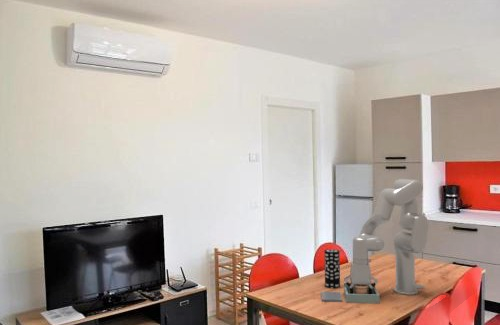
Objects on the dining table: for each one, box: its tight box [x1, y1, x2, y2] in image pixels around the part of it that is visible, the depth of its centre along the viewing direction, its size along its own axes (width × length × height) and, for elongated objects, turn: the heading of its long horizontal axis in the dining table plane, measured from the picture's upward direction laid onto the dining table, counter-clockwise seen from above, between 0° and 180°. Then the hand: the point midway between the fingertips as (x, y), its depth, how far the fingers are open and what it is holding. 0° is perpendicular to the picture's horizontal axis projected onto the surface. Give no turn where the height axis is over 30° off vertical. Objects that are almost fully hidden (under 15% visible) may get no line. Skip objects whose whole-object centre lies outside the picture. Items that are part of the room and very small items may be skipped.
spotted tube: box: [324, 248, 341, 290], centre depth 230 cm, size 8×8×20 cm
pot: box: [354, 284, 368, 294], centre depth 209 cm, size 7×7×7 cm
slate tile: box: [320, 291, 343, 303], centre depth 211 cm, size 10×12×1 cm
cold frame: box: [343, 282, 381, 304], centre depth 209 cm, size 16×13×6 cm
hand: (360, 295), depth 209 cm, fingers open, 8 cm apart
